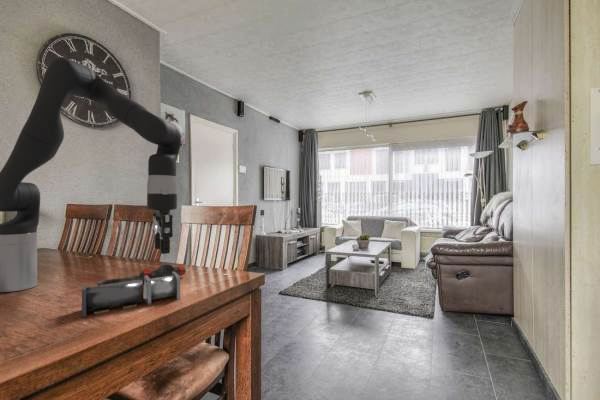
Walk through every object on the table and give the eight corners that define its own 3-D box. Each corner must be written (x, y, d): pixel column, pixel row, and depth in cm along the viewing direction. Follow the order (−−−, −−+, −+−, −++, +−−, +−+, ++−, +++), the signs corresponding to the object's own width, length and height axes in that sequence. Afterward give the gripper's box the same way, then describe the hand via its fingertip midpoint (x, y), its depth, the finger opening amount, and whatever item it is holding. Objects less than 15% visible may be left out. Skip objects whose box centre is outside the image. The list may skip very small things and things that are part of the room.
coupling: (174, 293, 86) (174, 271, 86) (180, 299, 81) (180, 276, 81) (144, 298, 82) (144, 275, 82) (147, 305, 76) (147, 280, 76)
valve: (184, 277, 113) (187, 280, 99) (104, 289, 102) (95, 295, 88) (183, 260, 114) (185, 261, 100) (104, 270, 103) (94, 273, 89)
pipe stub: (81, 317, 68) (81, 290, 68) (82, 309, 74) (82, 283, 74) (143, 306, 76) (143, 281, 76) (140, 299, 81) (140, 276, 81)
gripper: (143, 192, 85) (143, 248, 85) (151, 191, 73) (151, 256, 73) (171, 193, 89) (170, 246, 89) (183, 192, 78) (182, 253, 78)
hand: (162, 251), depth 81 cm, fingers open, 8 cm apart
